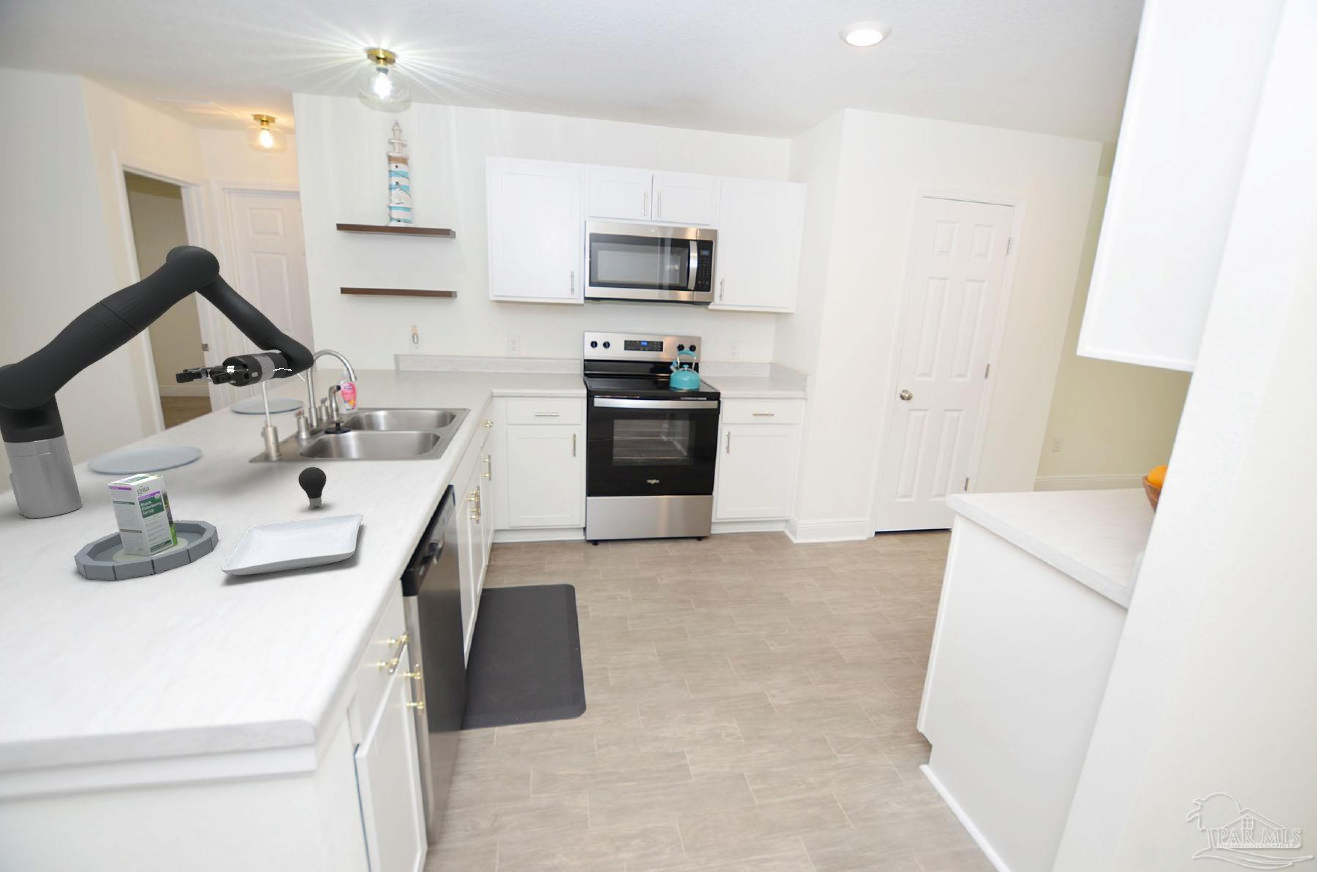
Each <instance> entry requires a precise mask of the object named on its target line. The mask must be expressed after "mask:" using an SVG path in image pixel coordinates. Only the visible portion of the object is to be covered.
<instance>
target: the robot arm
mask: <svg viewBox="0 0 1317 872" xmlns="http://www.w3.org/2000/svg"><path fill="white" fill-rule="evenodd" d="M168 251H169V252H167V254H166V257H165V263H164V264H162V265H161V266H160V267H158V269H156V270H155V271H154V272H152V274H150V275H148V276H147V277H146V278H143V279H142V280H140V281H137V282H135V283H133V284H131V285H129V286H126V287H124V288H122V289H119V290H118V291H115V292H113V293H111V294H110V295H108V296H106V297H104V298H102V299H101V300H99V301H98V302H96V303H95V304H93V305H92V306H90V307H89V308H87V309H86V310H85V311H82V312H81V313H80V314H79V315H78V316H76V317H75V319H73V320H72V321H71V322H69V323H68V324H67V325H66V326H65V327H64V328H63V329H62V330H61V331H60V332H59V333H58V334H57V335H55V337H54V338H53V339H52V340H51V341H50V342H48V344H45V346H44V347H42V348H41V349H39V350H37V351H35V352H34V353H31V354H30V355H29V356H27V357H25V358H23V359H22V360H19V361H18V362H16V363H15V362H14V363H8V364H4V365H2V366H0V434H1V439H2V441H3V444H4V448H5V452H6V455H7V459H8V462H9V466H10V469H11V472H10V473H9V480H10V483H11V486H12V490H13V495H14V498H15V502H16V506H17V509H18V512H19V515H23V516H24V517H25V518H28V519H29V518H30V519H32V518H33V519H39V518H40V519H41V518H48V517H55V516H59V515H60V516H61V515H64V514H67V513H71V512H74V511H76V510H78V509H80V508H82V507H83V504H82V503H83V501H82V498H81V495H80V490H79V486H78V483H77V479H76V474H75V471H74V465H73V461H72V457H71V454H70V450H69V445H68V442H67V438H66V434H65V430H64V425H63V421H62V417H61V414H60V410H59V407H58V402H57V397H56V394H57V392H59V391H60V390H61V389H62V388H63V387H64V386H65V385H66V384H68V383H69V382H70V381H71V380H72V379H73V378H75V376H77V375H78V374H80V373H81V372H82V371H84V370H85V369H86V368H89V366H92V365H93V364H96V363H97V362H98V361H101V360H102V359H104V358H105V357H107V356H108V355H110V354H112V353H113V352H114V351H117V350H118V349H119V348H120V347H122V346H124V345H126V344H127V343H129V342H131V340H132V339H134V338H135V337H136V336H138V335H139V334H141V333H142V332H143V331H144V330H147V328H148V327H149V326H151V325H152V324H153V323H154V322H156V321H157V320H158V319H159V318H161V317H162V316H163V315H164V314H165V313H166V312H168V311H169V310H170V309H171V308H172V307H174V305H176V304H177V303H179V302H180V301H181V300H182V301H183V299H185V298H186V297H188V296H190V295H192V294H194V293H195V292H197V293H198V294H199V295H201V296H202V297H203V298H205V299H206V300H207V301H208V302H209V303H211V304H212V305H213V306H214V307H215V308H216V309H217V310H219V312H221V313H222V314H223V315H224V316H225V317H226V318H227V319H228V320H229V321H230V322H231V323H232V324H233V325H234V326H235V327H236V328H237V329H238V330H239V331H240V332H242V333H243V335H244V336H245V337H246V338H247V339H249V340H250V341H251V342H252V343H253V344H254V345H255V346H256V347H257V348H258V349H259V350H261V351H263V352H261V353H260V352H259V353H248V354H247V353H246V354H240V355H234V356H228V357H226V358H225V360H224V359H223V361H222V363H221V364H215V365H214V366H200V367H194V368H186V369H182V372H178V373H177V372H176V374H175V381H176V383H178V384H184V383H185V384H186V383H190V382H191V383H192V382H197V381H199V382H200V381H201V382H203V383H211V382H212V384H213V385H215V386H216V385H222V384H227V383H228V384H229V385H230V386H233V387H238V388H241V387H246V386H251V385H255V384H260V383H264V382H266V381H268V380H269V381H270V380H273V379H287V378H290V377H292V376H295V375H297V374H298V375H299V374H300V373H302V372H305V371H307V370H309V369H311V368H312V367H313V366H314V364H315V357H314V356H313V353H312V352H311V350H310V349H309V348H308V347H306V346H305V345H304V344H303V343H300V342H299V341H297V340H296V339H294V338H293V337H291V336H289V335H288V334H286V333H284V332H283V331H281V330H280V329H279V328H278V327H277V325H275V324H274V323H273V322H272V321H271V320H270V319H269V318H268V317H267V316H266V315H265V314H264V313H263V312H261V311H260V310H259V309H258V308H256V307H255V306H254V305H253V304H251V303H250V302H249V301H248V300H247V299H245V298H244V297H243V296H242V295H240V294H239V293H238V292H237V291H236V290H235V289H234V288H233V287H232V286H231V285H230V284H229V283H228V282H227V281H226V280H225V279H224V278H223V277H222V276H221V274H220V271H221V270H220V263H219V260H218V257H216V256H215V254H213V252H212V251H209V250H208V249H206V248H204V247H201V246H197V245H178V246H175V247H173V248H171V249H170V250H168ZM272 351H275V352H272ZM276 351H279V352H276ZM279 368H284V369H291V370H292V371H288V370H284V369H280V370H277V371H273V370H275V369H279Z"/></svg>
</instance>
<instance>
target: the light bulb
mask: <svg viewBox="0 0 1317 872" xmlns="http://www.w3.org/2000/svg"><path fill="white" fill-rule="evenodd" d="M297 481H298V483H299V486H300V487H301V489H302V490H303V491H304V492H305V493H306V496H307V498H308V501H309V506H310V507H313V508H314V509H318V508H319V507H320V506H321V505H322V504H323V503H322V502H323V499H322V496H323V491H324V490H323V489H324V488H325V485H326V483H327V475H326V473H325V471H324V470H322V469H321V468H319V467H317V466H310V467H306V468H305V469H303V470H301V472H300V473H299V475H298V479H297Z"/></svg>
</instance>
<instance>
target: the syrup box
mask: <svg viewBox="0 0 1317 872" xmlns="http://www.w3.org/2000/svg"><path fill="white" fill-rule="evenodd" d="M106 486H107V488H108V492H109V497H110V501H111V503H112V507H113V512H114V517H115V519H116V520H115V521H116V523H117V527H118V532H120V536H121V540H122V544H123V548H124V552H125V553H126V554H131V555H139V556H152V555H153V554H155V553H157V552H160V551H162V550H164V549H167V548H169V547H171V546H174V545H176V544H178V541H177V537H176V532H175V528H174V523H173V521H174V520H173V516H172V511H171V506H170V501H169V497H168V492H167V488H166V483H165V478H164V476H163V475H161V474H160V475H159V474H154V473H137V474H135V475H133V476H129V477H126V478H122V479H119V480H116V481H111V482H108V484H107V485H106Z"/></svg>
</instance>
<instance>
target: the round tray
mask: <svg viewBox="0 0 1317 872" xmlns="http://www.w3.org/2000/svg"><path fill="white" fill-rule="evenodd" d="M173 523H174V528H175V532H176V537H177V541H178V544H176V545H174V546H171V547H169V548H167V549H164V550H162V551H160V552H157V553H155V554H153V555H152V556H139V555H131V554H126V553H125V552H124V548H123V544H122V540H121V536H120V532H119V531H116V532H114V533H109V534H108V535H105V536H103V537H101V538H98V539H96V540H94V541H91V542H88V543H87V544H85V545H84V546H83V547H82V548H81V549H79V551H78V552H76V554H75V555H74V556H73V559H74V562H75V566H76V569H77V572H78V573H79V574H81V575H82V576H83V577H84V578H85V579H86V580H95V579H97V580H99V579H100V580H102V581H121V579H122V580H127V579H133V578H132V577H135V578H138V577H137V576H141V577H146V576H145V575H147V576H151V575H150V574H154V573H155V574H156V573H157V574H160V573H159V572H161V573H163V572H162V571H164V570H167V571H170V570H172V569H171V568H173V569H176V568H179V567H178V566H180V565H183V566H186V565H188V563H189V562H190V563H193V562H195V561H197V560H198V558H199V559H201V558H202V557H204V556H206V555H209V553H211V552H213V551H214V550H215V548H216V546H217V544H218V542H219V535H218V530H217V526H215V525H214V524H212V523H209V522H208V521H205V520H195V519H194V520H192V519H191V520H189V519H188V520H187V519H181V520H179V519H178V520H173ZM210 551H211V552H210ZM205 554H206V555H205ZM196 559H197V560H196ZM194 560H195V561H194ZM190 563H189V564H190ZM185 564H186V565H185ZM180 567H181V566H180ZM169 569H170V570H169ZM164 572H165V571H164ZM155 574H154V575H155ZM100 580H99V581H100Z"/></svg>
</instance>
